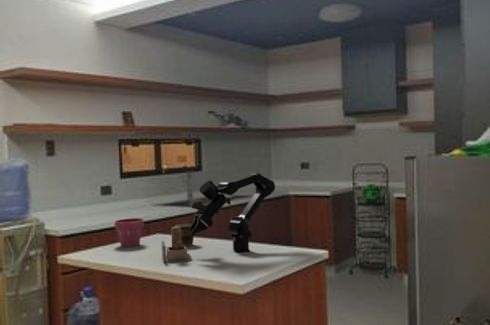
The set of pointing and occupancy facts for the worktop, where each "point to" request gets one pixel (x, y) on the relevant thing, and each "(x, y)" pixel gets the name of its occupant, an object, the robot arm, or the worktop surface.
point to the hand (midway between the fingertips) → (190, 232)
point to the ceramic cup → (186, 234)
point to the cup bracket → (174, 254)
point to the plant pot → (129, 231)
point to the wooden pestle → (176, 238)
